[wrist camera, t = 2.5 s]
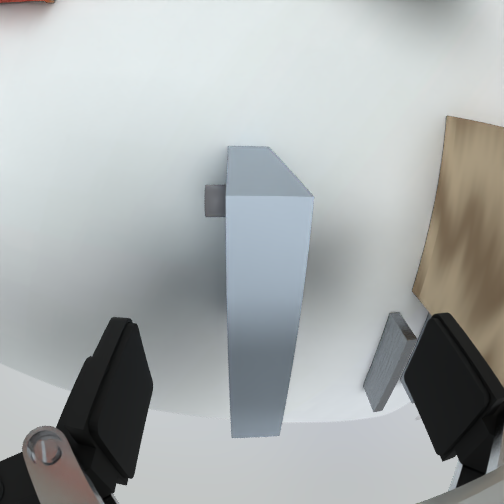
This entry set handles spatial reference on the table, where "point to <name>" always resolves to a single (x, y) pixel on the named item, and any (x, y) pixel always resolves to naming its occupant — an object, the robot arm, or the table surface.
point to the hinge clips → (390, 361)
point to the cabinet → (468, 238)
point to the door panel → (261, 281)
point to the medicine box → (47, 0)
